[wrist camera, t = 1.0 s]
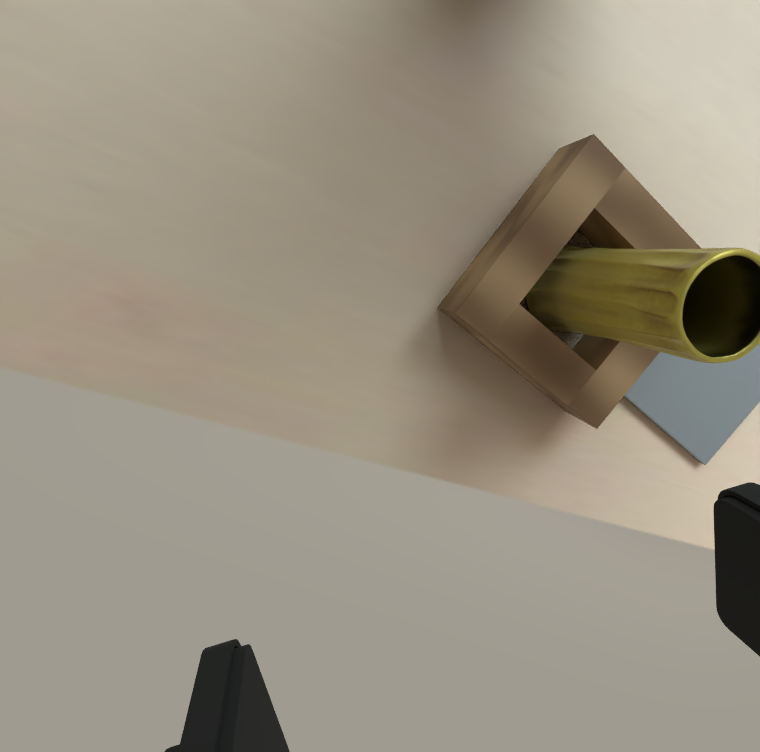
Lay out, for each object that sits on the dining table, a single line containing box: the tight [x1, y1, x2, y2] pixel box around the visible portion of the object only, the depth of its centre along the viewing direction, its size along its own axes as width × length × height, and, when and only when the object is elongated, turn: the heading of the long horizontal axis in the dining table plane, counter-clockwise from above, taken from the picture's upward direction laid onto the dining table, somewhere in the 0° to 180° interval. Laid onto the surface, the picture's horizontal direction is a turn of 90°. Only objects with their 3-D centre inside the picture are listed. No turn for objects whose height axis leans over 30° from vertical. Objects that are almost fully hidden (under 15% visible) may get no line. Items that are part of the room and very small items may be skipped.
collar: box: [438, 134, 701, 429], centre depth 34 cm, size 14×14×4 cm
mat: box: [624, 343, 760, 465], centre depth 39 cm, size 12×12×1 cm
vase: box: [526, 246, 760, 363], centre depth 29 cm, size 6×6×14 cm
